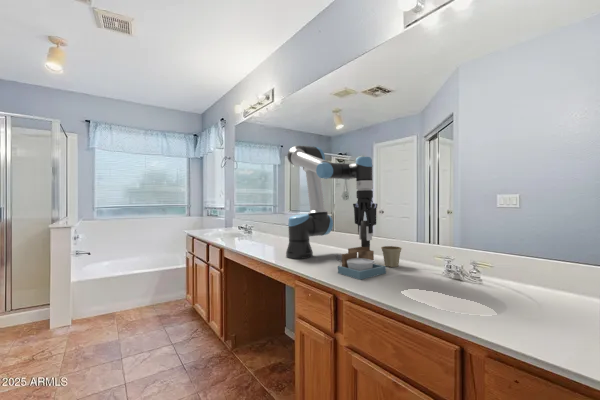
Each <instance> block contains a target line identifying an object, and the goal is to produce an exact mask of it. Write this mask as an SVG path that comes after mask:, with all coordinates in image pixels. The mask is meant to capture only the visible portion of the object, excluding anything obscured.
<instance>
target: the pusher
mask: <svg viewBox="0 0 600 400" xmlns="http://www.w3.org/2000/svg"><path fill="white" fill-rule="evenodd" d="M367 225H368V224H367V220H363V221H361V240H360V241H361V243H360V244H361V246H356V247H351V248H347V251H348V252H345V253H341V254H342V261H341V266H342V267H346V268H348V264H347V260H348V259H353V258H357V257H358V258H364V259H370V260H372V261H374V259H375V254H374V252H375V251H374V250H371V240H369V241H367V231H366V226H367Z"/></svg>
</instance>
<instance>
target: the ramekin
mask: <svg viewBox="0 0 600 400" xmlns="http://www.w3.org/2000/svg"><path fill="white" fill-rule="evenodd" d="M347 264H348V268H350V269H353V270H357V271H363V270H367V269H372V267H373V264H375V262H374V260H370V259H364V258H353V259H348V260H347Z"/></svg>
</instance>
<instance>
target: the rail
mask: <svg viewBox="0 0 600 400" xmlns="http://www.w3.org/2000/svg"><path fill="white" fill-rule="evenodd" d="M342 254H343V253H339V254H336V261H338V262H342ZM357 258H358V256H357Z"/></svg>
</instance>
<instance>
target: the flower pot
mask: <svg viewBox="0 0 600 400" xmlns="http://www.w3.org/2000/svg"><path fill="white" fill-rule="evenodd" d="M380 249H381V252H382V254H383V262H384V266H386V267H388V268H389V267H390V268H398V267H399V266H400V265H399V264H400V257H401V256H400V255H401V252H402V250H403V247H401V246H396V245H395V246H393V245H391V246H390V245H387V246H386V245H384V246H381V247H380Z"/></svg>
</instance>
